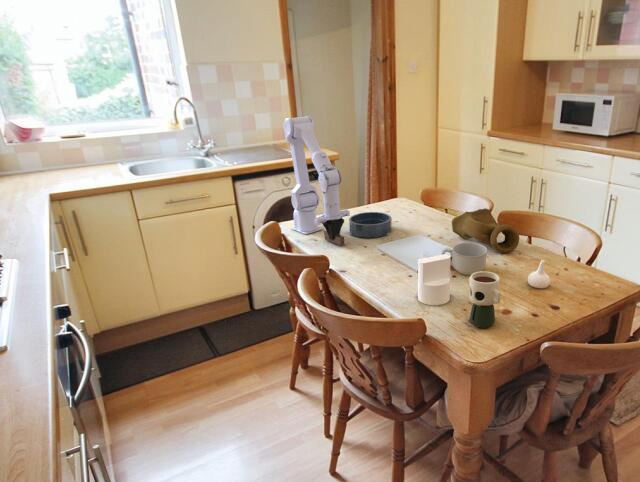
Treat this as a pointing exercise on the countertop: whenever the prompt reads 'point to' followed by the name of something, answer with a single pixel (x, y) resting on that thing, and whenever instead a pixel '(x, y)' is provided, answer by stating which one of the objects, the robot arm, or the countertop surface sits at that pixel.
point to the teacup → (467, 257)
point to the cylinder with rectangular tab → (434, 280)
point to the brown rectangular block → (335, 239)
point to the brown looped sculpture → (485, 230)
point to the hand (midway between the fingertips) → (334, 238)
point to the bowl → (370, 224)
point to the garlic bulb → (539, 277)
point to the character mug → (484, 297)
